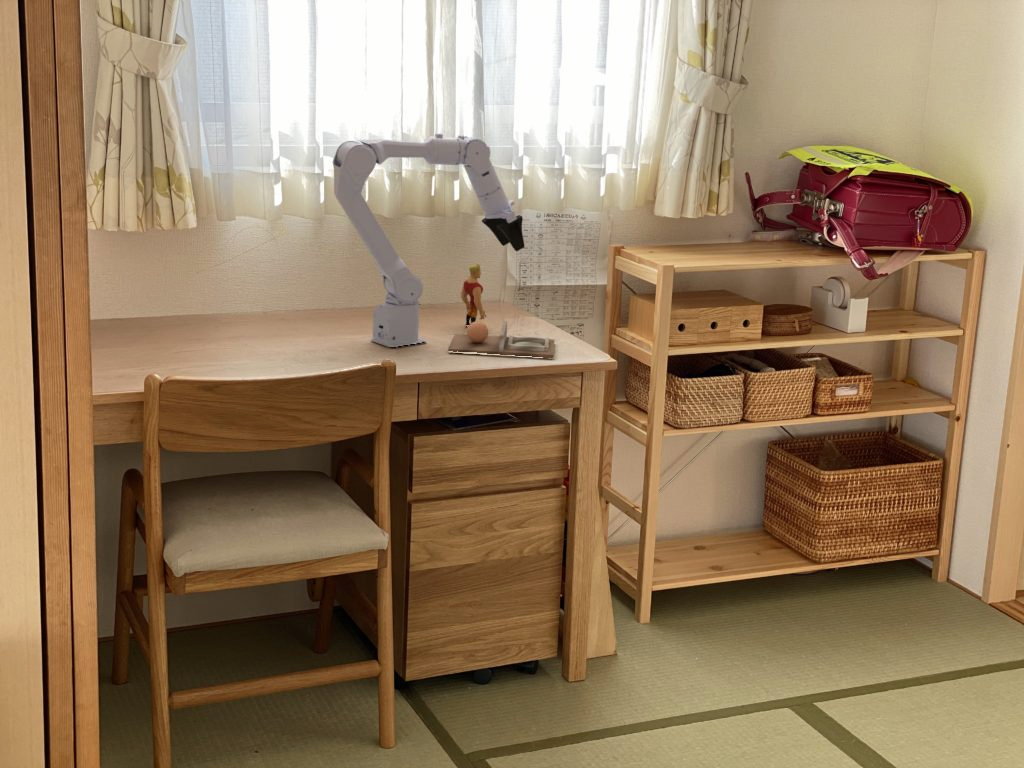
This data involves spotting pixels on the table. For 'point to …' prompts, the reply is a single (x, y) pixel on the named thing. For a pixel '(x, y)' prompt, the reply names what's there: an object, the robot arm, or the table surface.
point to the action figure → (473, 295)
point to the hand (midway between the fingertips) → (513, 246)
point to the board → (505, 345)
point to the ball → (477, 332)
